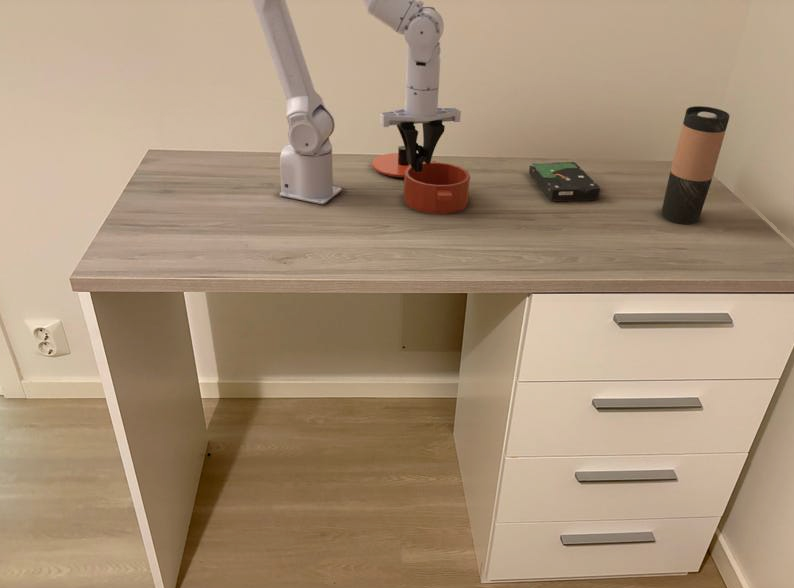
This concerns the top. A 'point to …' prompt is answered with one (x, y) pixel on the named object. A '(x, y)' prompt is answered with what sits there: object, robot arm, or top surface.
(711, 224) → the top surface
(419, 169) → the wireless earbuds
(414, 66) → the robot arm
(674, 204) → the travel mug
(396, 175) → the lid
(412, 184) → the pan
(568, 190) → the disk drive
